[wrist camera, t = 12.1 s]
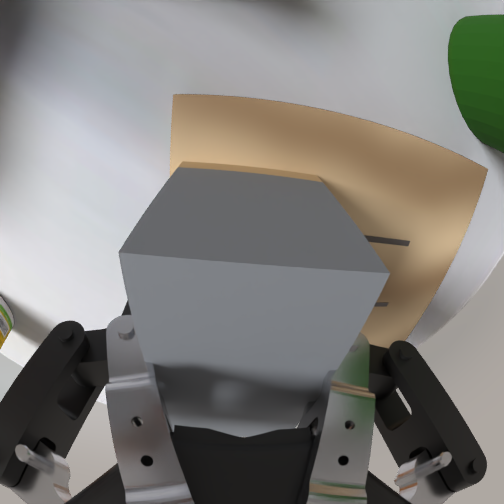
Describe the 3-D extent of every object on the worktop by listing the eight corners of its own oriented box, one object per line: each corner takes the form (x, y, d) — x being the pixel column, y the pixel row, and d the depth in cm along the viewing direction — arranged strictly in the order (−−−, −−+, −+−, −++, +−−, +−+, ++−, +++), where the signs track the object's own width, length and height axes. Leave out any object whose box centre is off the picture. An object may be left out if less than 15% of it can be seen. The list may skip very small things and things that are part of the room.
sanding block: (185, 329, 14) (171, 431, 9) (182, 161, 9) (118, 252, 4) (276, 335, 15) (288, 435, 10) (316, 175, 10) (389, 273, 5)
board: (182, 94, 9) (173, 94, 8) (470, 160, 11) (488, 169, 9) (184, 335, 17) (181, 354, 15) (389, 338, 18) (396, 353, 17)
